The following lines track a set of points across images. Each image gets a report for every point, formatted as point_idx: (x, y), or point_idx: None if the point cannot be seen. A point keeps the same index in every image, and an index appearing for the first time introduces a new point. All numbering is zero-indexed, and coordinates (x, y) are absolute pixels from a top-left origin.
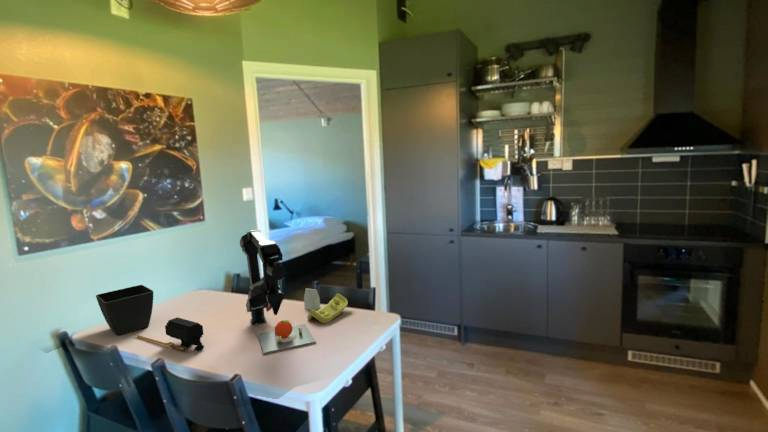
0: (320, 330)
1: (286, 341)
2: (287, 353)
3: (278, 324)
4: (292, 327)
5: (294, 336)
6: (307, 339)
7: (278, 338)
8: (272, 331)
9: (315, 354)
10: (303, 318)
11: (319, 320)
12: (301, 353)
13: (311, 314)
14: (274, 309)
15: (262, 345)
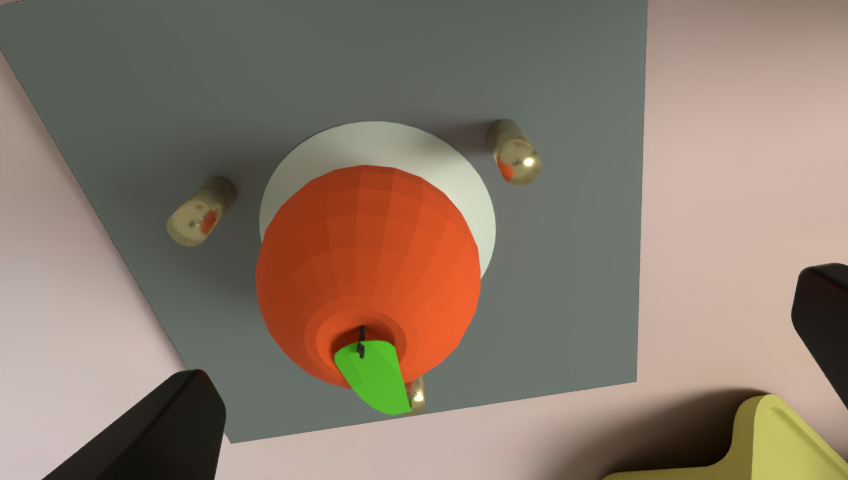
0: (472, 457)
1: None
2: (51, 248)
3: (313, 274)
4: (611, 289)
5: None
6: (280, 397)
7: (180, 206)
8: (611, 83)
9: (44, 424)
10: None
11: (628, 478)
12: (57, 346)
13: (721, 475)
14: None
15: None
